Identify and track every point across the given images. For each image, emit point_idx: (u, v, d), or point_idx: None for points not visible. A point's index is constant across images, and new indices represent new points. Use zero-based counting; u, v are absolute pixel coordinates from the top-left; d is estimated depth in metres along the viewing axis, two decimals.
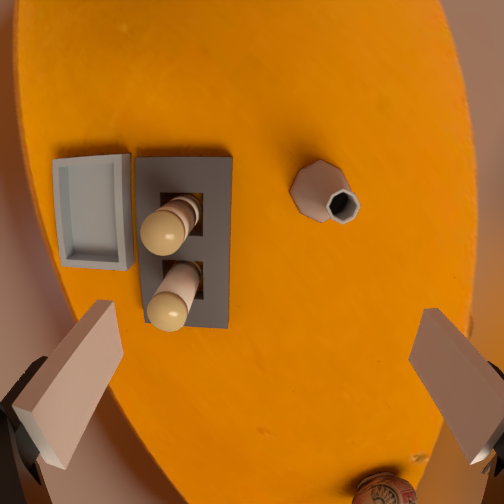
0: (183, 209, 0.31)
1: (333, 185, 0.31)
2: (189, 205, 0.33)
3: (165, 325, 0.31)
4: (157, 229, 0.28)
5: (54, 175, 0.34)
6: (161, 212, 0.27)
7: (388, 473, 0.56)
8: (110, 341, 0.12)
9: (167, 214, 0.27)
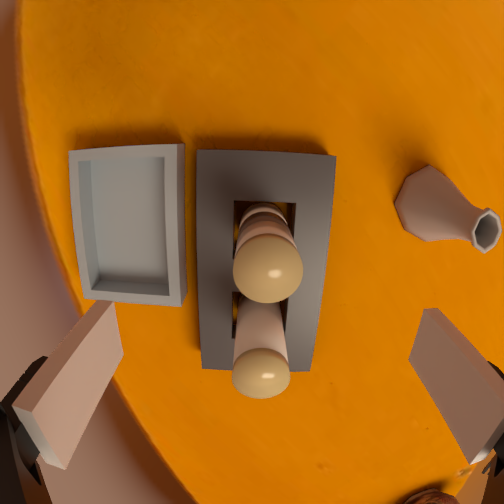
0: (286, 229, 0.21)
1: (465, 201, 0.21)
2: (284, 221, 0.24)
3: (257, 392, 0.21)
4: (262, 265, 0.18)
5: (71, 173, 0.24)
6: (271, 239, 0.18)
7: (434, 489, 0.47)
8: (110, 341, 0.12)
9: (281, 242, 0.18)
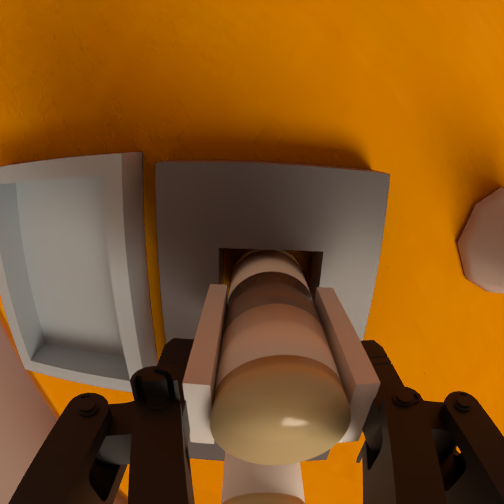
0: (313, 319, 0.11)
1: None
2: (305, 290, 0.14)
3: None
4: (270, 420, 0.08)
5: None
6: (290, 378, 0.07)
7: None
8: None
9: (312, 384, 0.07)
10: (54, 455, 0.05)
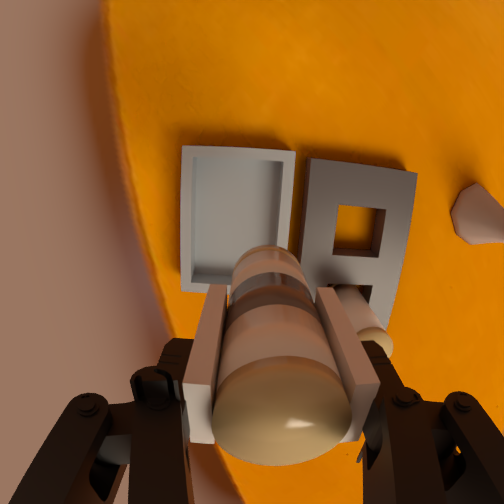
0: (314, 320, 0.11)
1: None
2: (306, 291, 0.14)
3: None
4: (271, 420, 0.08)
5: (184, 168, 0.28)
6: (291, 379, 0.07)
7: None
8: None
9: (313, 385, 0.07)
10: (54, 455, 0.05)
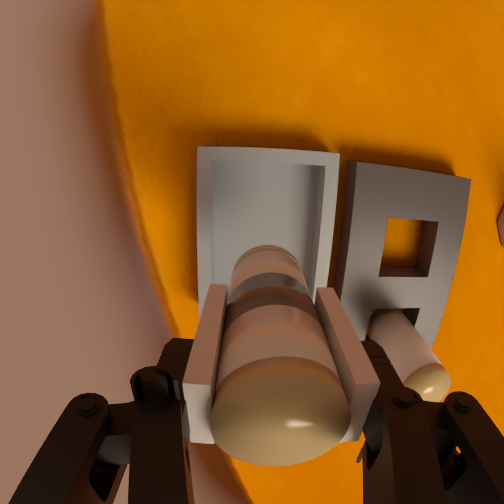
0: (313, 320, 0.11)
1: None
2: (305, 291, 0.14)
3: None
4: (270, 421, 0.08)
5: (200, 175, 0.22)
6: (290, 380, 0.07)
7: None
8: None
9: (312, 385, 0.07)
10: (54, 455, 0.05)
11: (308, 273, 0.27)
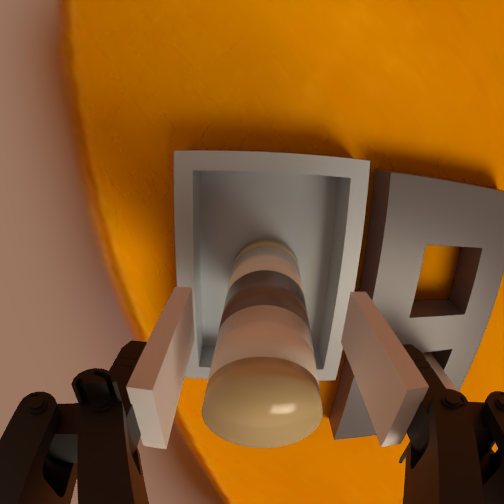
0: (299, 320, 0.12)
1: None
2: (296, 289, 0.15)
3: None
4: (252, 410, 0.09)
5: (179, 190, 0.16)
6: (267, 379, 0.09)
7: None
8: (189, 325, 0.13)
9: (286, 384, 0.09)
10: (9, 452, 0.05)
11: (321, 313, 0.21)
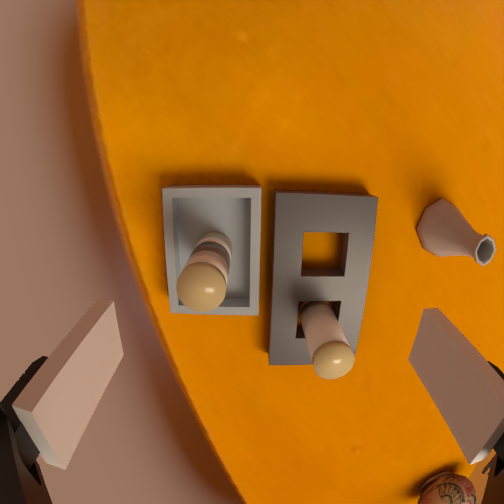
0: (220, 256, 0.28)
1: (469, 228, 0.29)
2: (223, 248, 0.31)
3: (330, 374, 0.29)
4: (196, 284, 0.25)
5: (165, 208, 0.32)
6: (200, 266, 0.25)
7: (448, 472, 0.54)
8: (110, 341, 0.12)
9: (207, 268, 0.25)
10: None
11: (249, 275, 0.37)
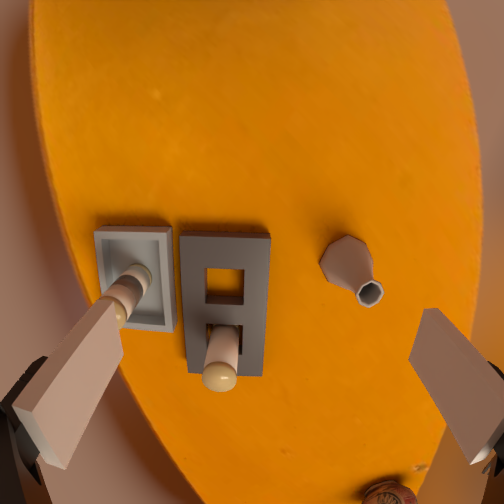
0: (127, 289, 0.35)
1: (361, 269, 0.35)
2: (135, 281, 0.37)
3: (217, 387, 0.35)
4: None
5: (97, 246, 0.38)
6: None
7: (392, 481, 0.61)
8: (110, 341, 0.12)
9: None
10: None
11: None
